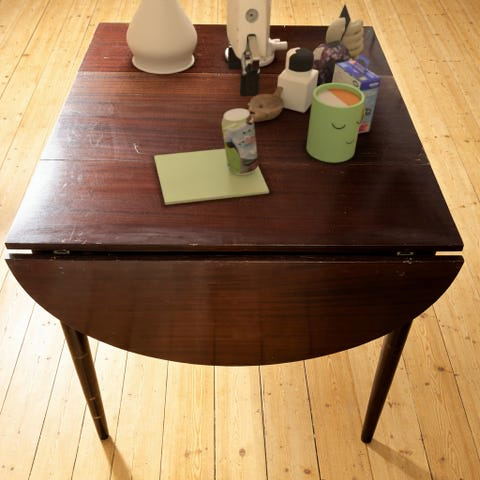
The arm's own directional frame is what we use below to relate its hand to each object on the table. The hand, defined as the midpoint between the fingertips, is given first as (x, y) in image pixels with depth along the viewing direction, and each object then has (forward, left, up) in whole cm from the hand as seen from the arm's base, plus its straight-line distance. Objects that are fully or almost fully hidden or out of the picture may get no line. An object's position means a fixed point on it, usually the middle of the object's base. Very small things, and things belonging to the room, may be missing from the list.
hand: (242, 81), depth 108 cm
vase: (+8, -52, -19) cm, 55 cm away
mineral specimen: (-30, -34, -19) cm, 49 cm away
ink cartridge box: (-28, -14, -19) cm, 36 cm away
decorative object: (-37, -44, -19) cm, 60 cm away
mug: (-22, -5, -19) cm, 29 cm away
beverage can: (0, 0, -18) cm, 18 cm away
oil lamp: (-11, -21, -19) cm, 30 cm away
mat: (+6, 0, -19) cm, 20 cm away
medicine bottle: (-19, -25, -19) cm, 36 cm away
